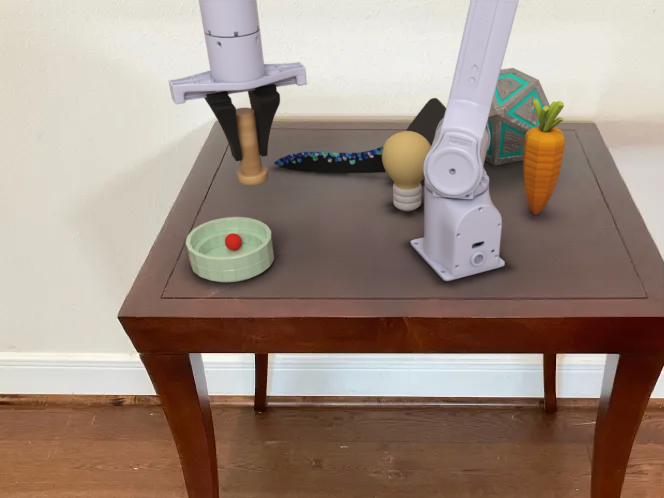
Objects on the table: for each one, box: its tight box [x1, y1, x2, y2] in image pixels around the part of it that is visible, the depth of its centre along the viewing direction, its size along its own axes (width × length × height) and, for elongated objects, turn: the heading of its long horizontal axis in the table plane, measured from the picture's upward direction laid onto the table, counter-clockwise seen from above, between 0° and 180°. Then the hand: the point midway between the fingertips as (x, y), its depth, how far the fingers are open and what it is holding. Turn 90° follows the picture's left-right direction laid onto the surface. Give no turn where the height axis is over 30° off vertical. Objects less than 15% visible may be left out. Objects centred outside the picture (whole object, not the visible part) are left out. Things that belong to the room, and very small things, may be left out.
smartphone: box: [405, 97, 447, 146], centre depth 108 cm, size 8×1×15 cm
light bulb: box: [382, 130, 431, 212], centre depth 93 cm, size 6×6×10 cm
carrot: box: [522, 99, 566, 216], centre depth 90 cm, size 5×5×15 cm
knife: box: [273, 145, 487, 174], centre depth 102 cm, size 31×3×4 cm, turn 75°
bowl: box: [185, 216, 275, 283], centre depth 85 cm, size 10×10×4 cm
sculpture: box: [485, 67, 551, 167], centre depth 105 cm, size 13×14×30 cm
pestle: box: [235, 107, 269, 186], centre depth 84 cm, size 4×4×8 cm
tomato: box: [225, 233, 242, 250], centre depth 87 cm, size 2×2×2 cm
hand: (250, 155), depth 84 cm, fingers closed on pestle, 2 cm apart
